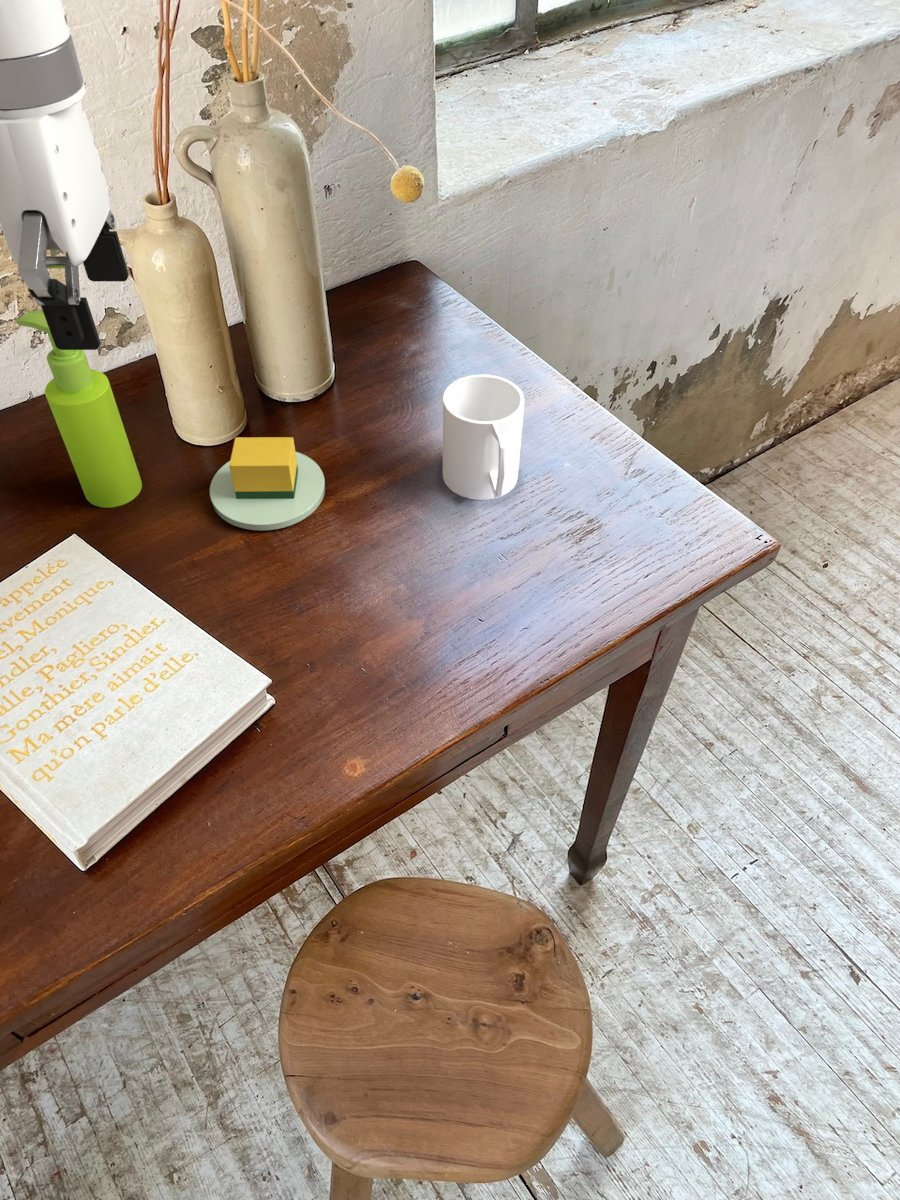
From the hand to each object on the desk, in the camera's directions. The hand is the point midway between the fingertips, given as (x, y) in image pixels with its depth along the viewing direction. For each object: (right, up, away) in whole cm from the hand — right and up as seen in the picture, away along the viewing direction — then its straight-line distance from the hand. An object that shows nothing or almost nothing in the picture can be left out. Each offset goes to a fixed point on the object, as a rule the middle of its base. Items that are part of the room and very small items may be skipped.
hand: (95, 312), depth 71 cm
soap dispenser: (-8, -11, +26) cm, 29 cm away
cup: (+32, -10, +27) cm, 43 cm away
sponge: (+9, -10, +24) cm, 28 cm away
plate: (+9, -11, +25) cm, 29 cm away
